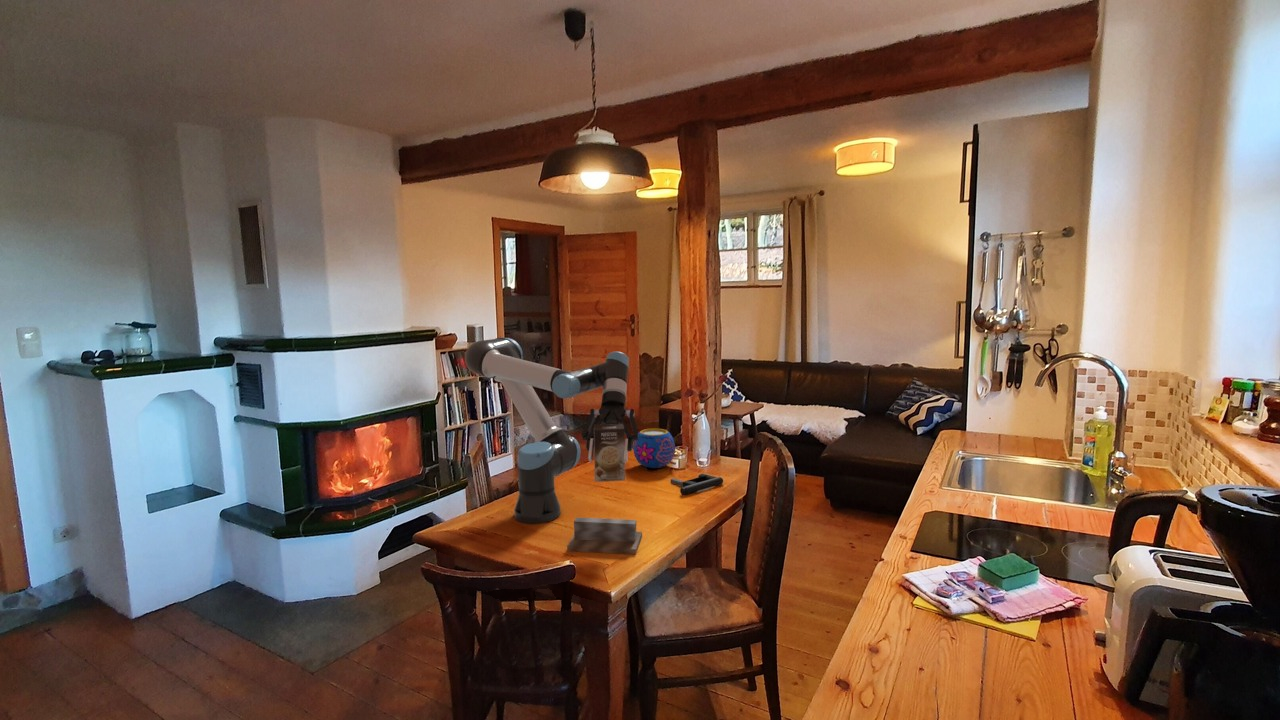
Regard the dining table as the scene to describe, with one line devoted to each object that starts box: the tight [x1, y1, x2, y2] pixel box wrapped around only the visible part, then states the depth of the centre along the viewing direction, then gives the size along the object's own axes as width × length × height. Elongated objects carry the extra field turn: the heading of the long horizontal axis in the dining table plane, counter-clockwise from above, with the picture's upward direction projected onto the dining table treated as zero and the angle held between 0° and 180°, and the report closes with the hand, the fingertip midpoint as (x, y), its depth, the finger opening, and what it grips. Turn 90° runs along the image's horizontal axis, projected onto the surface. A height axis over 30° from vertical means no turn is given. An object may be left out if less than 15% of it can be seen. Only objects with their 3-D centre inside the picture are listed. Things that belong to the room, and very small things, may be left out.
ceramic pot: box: [632, 427, 676, 469], centre depth 248 cm, size 18×18×15 cm
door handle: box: [669, 473, 724, 496], centre depth 225 cm, size 3×20×16 cm
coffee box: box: [593, 423, 626, 483], centre depth 179 cm, size 9×6×16 cm
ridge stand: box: [566, 517, 643, 555], centre depth 176 cm, size 20×12×7 cm, turn 81°
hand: (607, 460), depth 176 cm, fingers closed on coffee box, 10 cm apart
